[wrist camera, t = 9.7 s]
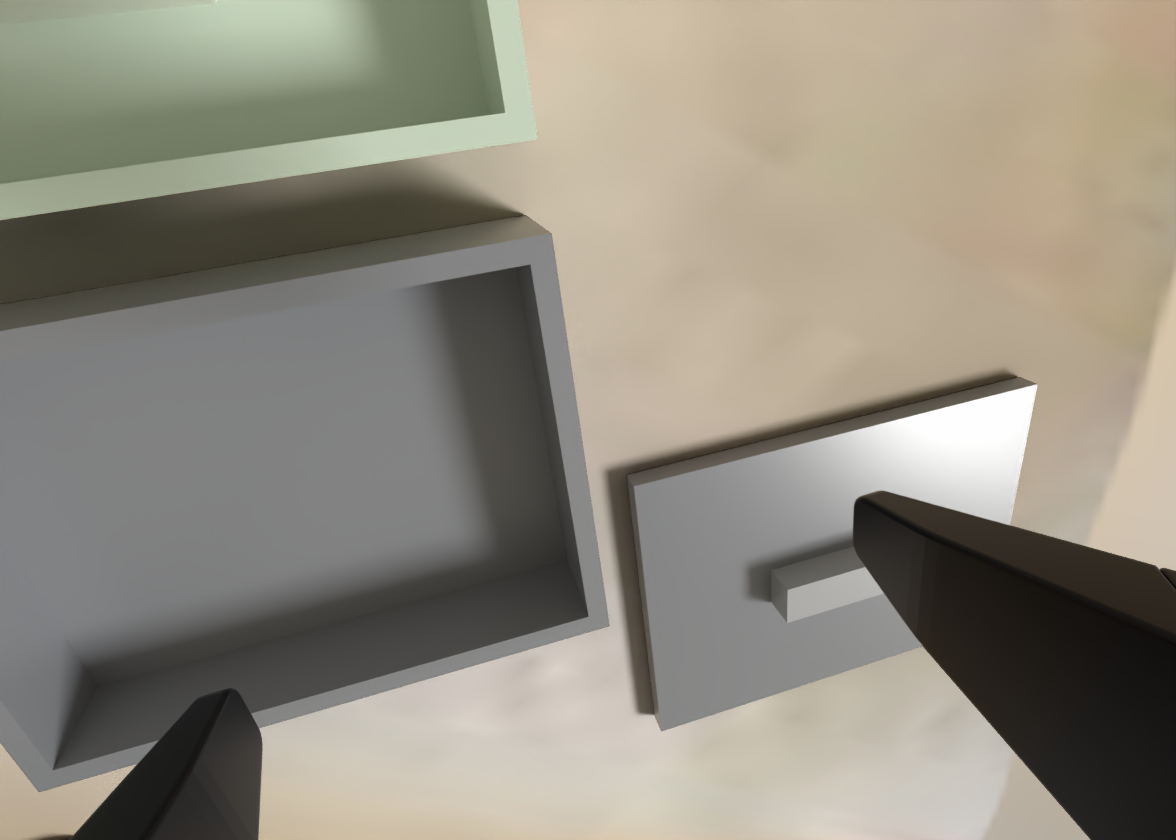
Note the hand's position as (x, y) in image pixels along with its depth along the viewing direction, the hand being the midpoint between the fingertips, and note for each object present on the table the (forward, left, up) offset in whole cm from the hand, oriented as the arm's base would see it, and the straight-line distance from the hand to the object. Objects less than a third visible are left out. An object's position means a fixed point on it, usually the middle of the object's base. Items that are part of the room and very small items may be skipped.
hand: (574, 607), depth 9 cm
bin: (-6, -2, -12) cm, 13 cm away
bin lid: (+12, -11, -12) cm, 20 cm away
